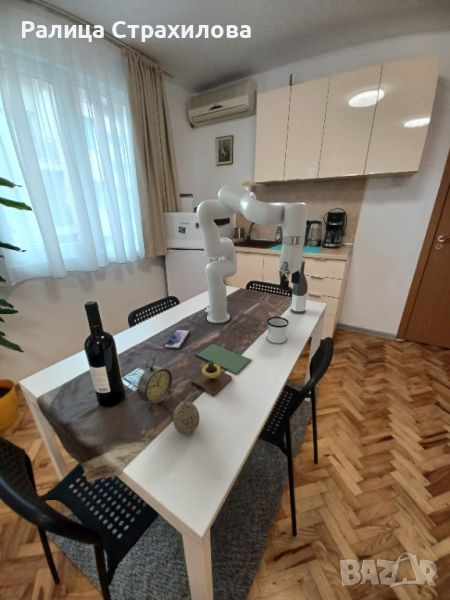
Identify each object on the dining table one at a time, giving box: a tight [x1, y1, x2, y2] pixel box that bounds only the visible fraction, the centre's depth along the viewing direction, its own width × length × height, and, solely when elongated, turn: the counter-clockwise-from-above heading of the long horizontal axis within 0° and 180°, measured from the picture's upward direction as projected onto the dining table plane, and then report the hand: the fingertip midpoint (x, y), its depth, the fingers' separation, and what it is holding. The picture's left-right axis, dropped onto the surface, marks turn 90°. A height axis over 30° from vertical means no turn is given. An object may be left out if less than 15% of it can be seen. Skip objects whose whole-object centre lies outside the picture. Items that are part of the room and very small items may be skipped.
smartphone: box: [164, 329, 190, 349], centre depth 111 cm, size 7×1×15 cm
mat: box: [196, 343, 251, 375], centre depth 97 cm, size 20×10×1 cm, turn 53°
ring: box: [201, 363, 222, 378], centre depth 83 cm, size 6×6×1 cm
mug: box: [266, 316, 290, 344], centre depth 109 cm, size 12×9×9 cm
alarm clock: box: [136, 357, 173, 411], centre depth 74 cm, size 11×5×16 cm, turn 148°
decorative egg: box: [172, 400, 200, 435], centre depth 65 cm, size 7×7×10 cm
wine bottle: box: [290, 258, 309, 315], centre depth 131 cm, size 8×8×30 cm
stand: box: [191, 361, 233, 396], centre depth 83 cm, size 10×10×8 cm
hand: (289, 286), depth 90 cm, fingers open, 9 cm apart
